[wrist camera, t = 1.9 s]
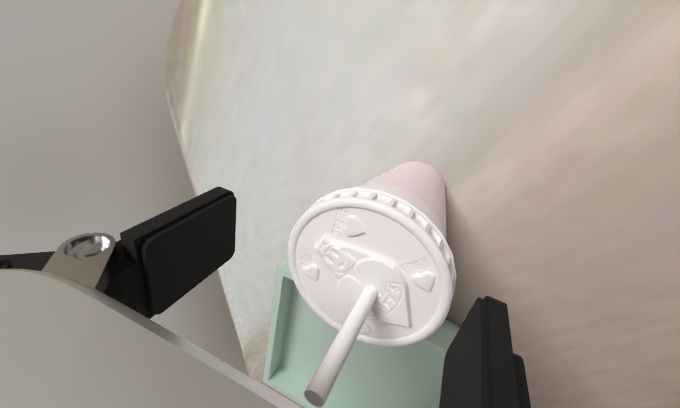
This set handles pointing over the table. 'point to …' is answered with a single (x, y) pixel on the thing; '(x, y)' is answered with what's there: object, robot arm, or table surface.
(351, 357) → the tray
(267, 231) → the table surface
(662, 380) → the table surface
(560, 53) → the table surface
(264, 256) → the table surface
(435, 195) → the smoothie
